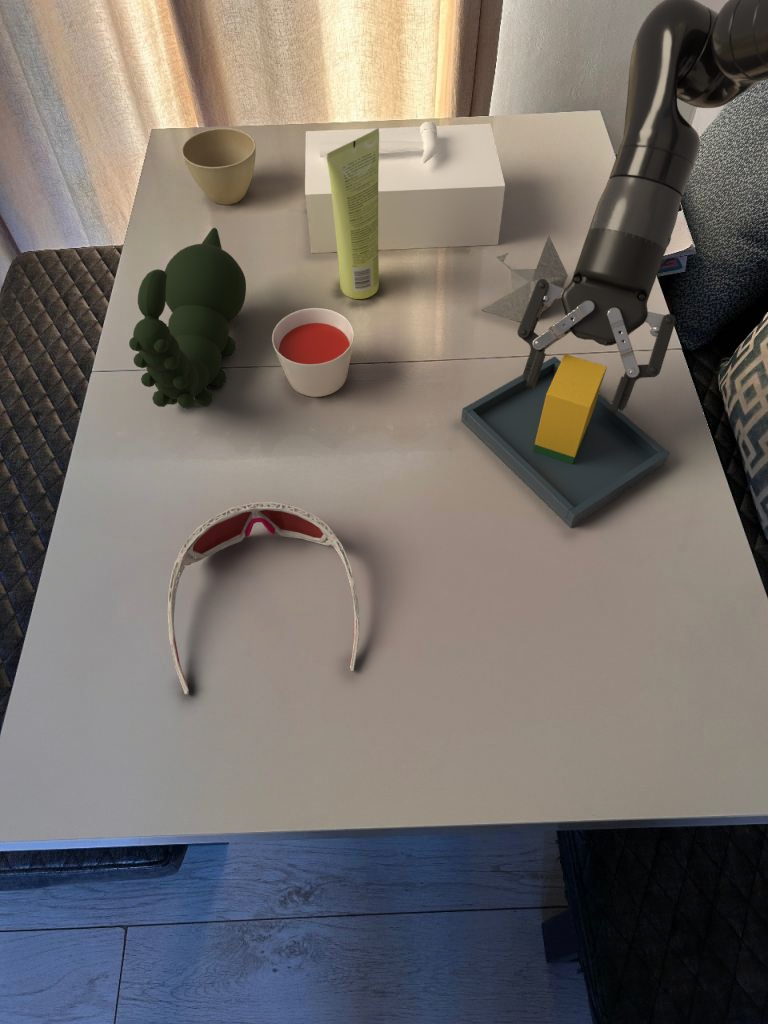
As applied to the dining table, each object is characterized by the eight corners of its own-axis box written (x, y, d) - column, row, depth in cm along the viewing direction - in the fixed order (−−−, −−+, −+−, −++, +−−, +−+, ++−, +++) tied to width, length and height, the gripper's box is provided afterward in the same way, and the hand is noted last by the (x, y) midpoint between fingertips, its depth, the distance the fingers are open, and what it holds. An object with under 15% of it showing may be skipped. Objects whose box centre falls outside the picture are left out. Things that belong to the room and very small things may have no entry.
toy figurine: (227, 443, 86) (264, 282, 98) (185, 326, 69) (236, 149, 81) (146, 438, 86) (193, 278, 99) (85, 320, 70) (150, 145, 82)
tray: (664, 465, 81) (670, 453, 80) (570, 528, 77) (574, 516, 75) (551, 369, 89) (554, 356, 88) (460, 421, 85) (462, 408, 83)
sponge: (588, 425, 84) (607, 366, 76) (572, 464, 81) (590, 407, 73) (549, 413, 85) (564, 353, 77) (532, 451, 82) (546, 393, 74)
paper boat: (516, 336, 91) (460, 287, 92) (518, 347, 97) (466, 301, 99) (588, 258, 89) (529, 208, 91) (586, 274, 95) (531, 228, 97)
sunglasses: (345, 512, 78) (343, 491, 73) (367, 676, 71) (366, 664, 67) (174, 533, 77) (161, 513, 72) (180, 703, 70) (166, 692, 65)
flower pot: (258, 215, 107) (250, 167, 101) (187, 215, 107) (175, 167, 101) (266, 174, 112) (259, 126, 107) (199, 174, 113) (188, 126, 107)
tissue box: (497, 244, 103) (507, 168, 93) (311, 253, 102) (303, 177, 93) (484, 182, 111) (492, 106, 102) (311, 189, 110) (304, 114, 101)
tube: (343, 271, 100) (333, 124, 84) (382, 273, 100) (379, 126, 83) (337, 300, 97) (326, 153, 81) (377, 302, 96) (374, 155, 80)
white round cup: (316, 417, 86) (311, 377, 80) (263, 377, 89) (255, 337, 84) (372, 375, 89) (370, 334, 84) (319, 338, 93) (314, 297, 88)
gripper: (552, 210, 71) (497, 379, 75) (706, 249, 68) (641, 423, 72) (559, 227, 78) (508, 381, 82) (699, 263, 75) (640, 421, 79)
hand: (570, 400), depth 77 cm, fingers open, 8 cm apart
